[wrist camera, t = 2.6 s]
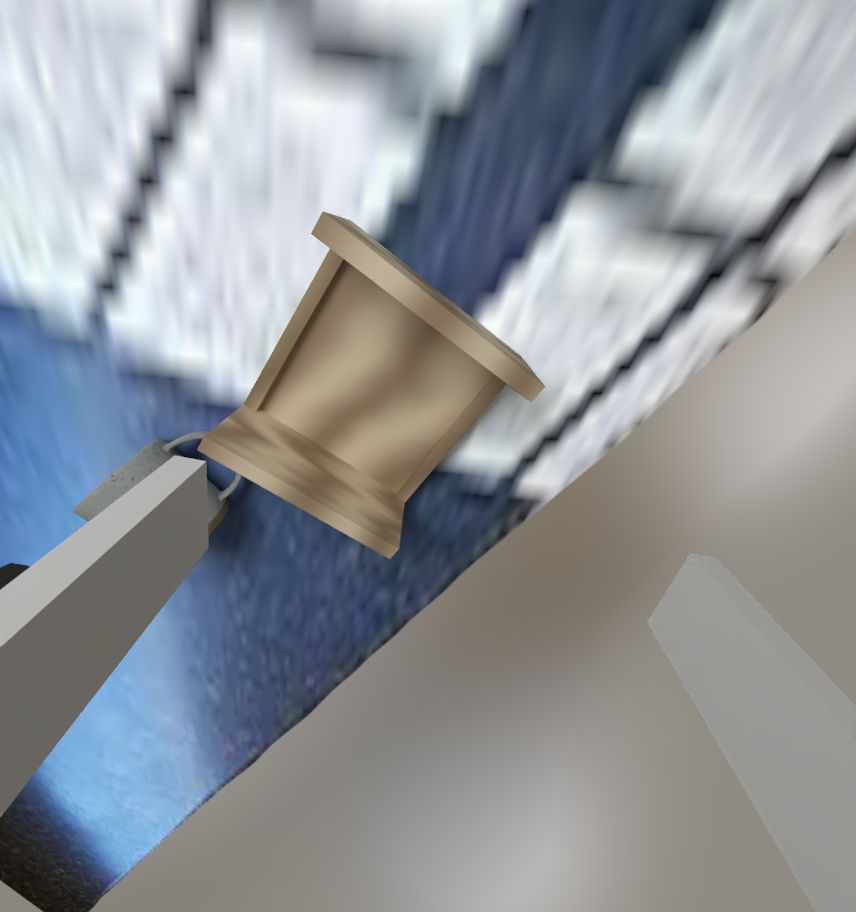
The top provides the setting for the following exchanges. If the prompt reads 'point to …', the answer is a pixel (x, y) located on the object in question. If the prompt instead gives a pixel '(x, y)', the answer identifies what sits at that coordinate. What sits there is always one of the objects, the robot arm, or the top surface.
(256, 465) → the holder
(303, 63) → the top surface
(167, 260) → the top surface
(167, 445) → the ceramic mug
